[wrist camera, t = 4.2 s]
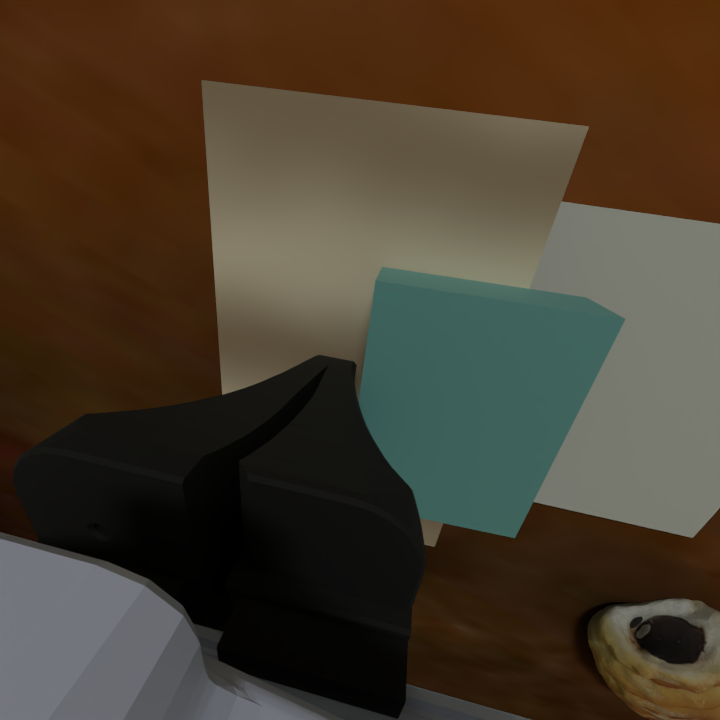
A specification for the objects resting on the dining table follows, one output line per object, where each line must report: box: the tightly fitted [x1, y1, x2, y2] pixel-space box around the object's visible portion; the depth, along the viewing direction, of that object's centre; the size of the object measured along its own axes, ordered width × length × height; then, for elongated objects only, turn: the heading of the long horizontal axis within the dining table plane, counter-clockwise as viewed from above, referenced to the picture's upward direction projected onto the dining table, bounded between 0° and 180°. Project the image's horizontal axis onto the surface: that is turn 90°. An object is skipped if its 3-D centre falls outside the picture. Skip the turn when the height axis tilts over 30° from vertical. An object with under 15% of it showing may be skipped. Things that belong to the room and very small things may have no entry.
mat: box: [529, 202, 720, 538], centre depth 13 cm, size 13×12×1 cm
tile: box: [358, 267, 625, 538], centre depth 11 cm, size 8×6×2 cm
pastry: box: [588, 599, 720, 720], centre depth 18 cm, size 9×7×4 cm
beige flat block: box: [202, 80, 589, 547], centre depth 13 cm, size 16×10×3 cm, turn 172°
